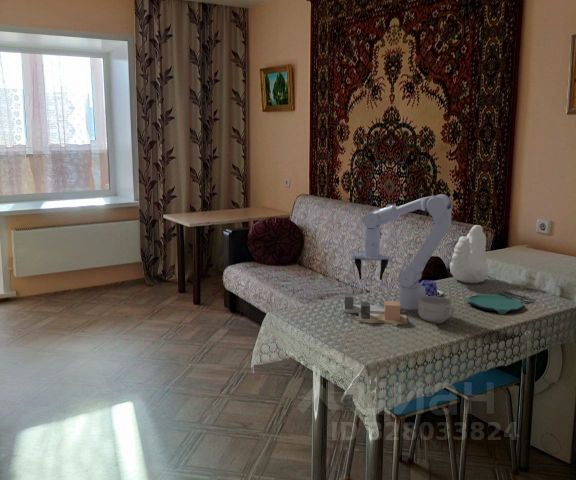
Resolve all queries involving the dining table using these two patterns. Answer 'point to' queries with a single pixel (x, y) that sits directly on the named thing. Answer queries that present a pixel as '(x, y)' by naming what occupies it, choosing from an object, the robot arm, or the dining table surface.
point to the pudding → (430, 287)
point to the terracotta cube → (391, 310)
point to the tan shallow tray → (377, 316)
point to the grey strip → (359, 306)
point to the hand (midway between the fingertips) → (370, 279)
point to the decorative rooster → (470, 257)
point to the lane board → (363, 322)
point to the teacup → (435, 309)
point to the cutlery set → (499, 302)
